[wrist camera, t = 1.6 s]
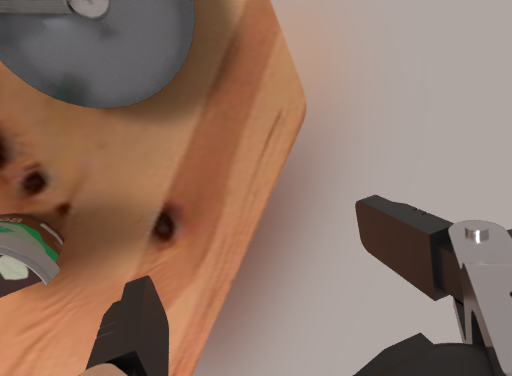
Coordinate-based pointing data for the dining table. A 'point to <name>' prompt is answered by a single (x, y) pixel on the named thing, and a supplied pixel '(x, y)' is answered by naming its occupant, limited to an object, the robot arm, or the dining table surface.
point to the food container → (27, 252)
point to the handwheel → (96, 47)
